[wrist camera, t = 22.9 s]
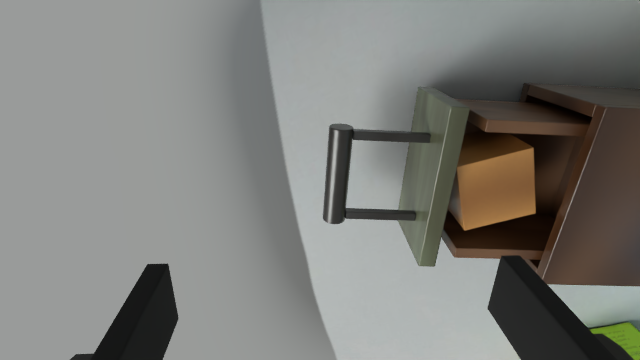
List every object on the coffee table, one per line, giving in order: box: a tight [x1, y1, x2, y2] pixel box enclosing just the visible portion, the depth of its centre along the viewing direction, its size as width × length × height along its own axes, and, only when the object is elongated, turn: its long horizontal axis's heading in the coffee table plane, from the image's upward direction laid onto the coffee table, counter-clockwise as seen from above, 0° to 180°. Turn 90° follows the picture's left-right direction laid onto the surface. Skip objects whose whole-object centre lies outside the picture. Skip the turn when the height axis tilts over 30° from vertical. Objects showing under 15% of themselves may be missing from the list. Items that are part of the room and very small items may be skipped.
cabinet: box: [519, 83, 640, 286], centre depth 28 cm, size 15×13×9 cm
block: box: [448, 130, 536, 231], centre depth 27 cm, size 5×5×5 cm
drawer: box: [323, 87, 592, 267], centre depth 27 cm, size 20×11×7 cm, turn 87°
